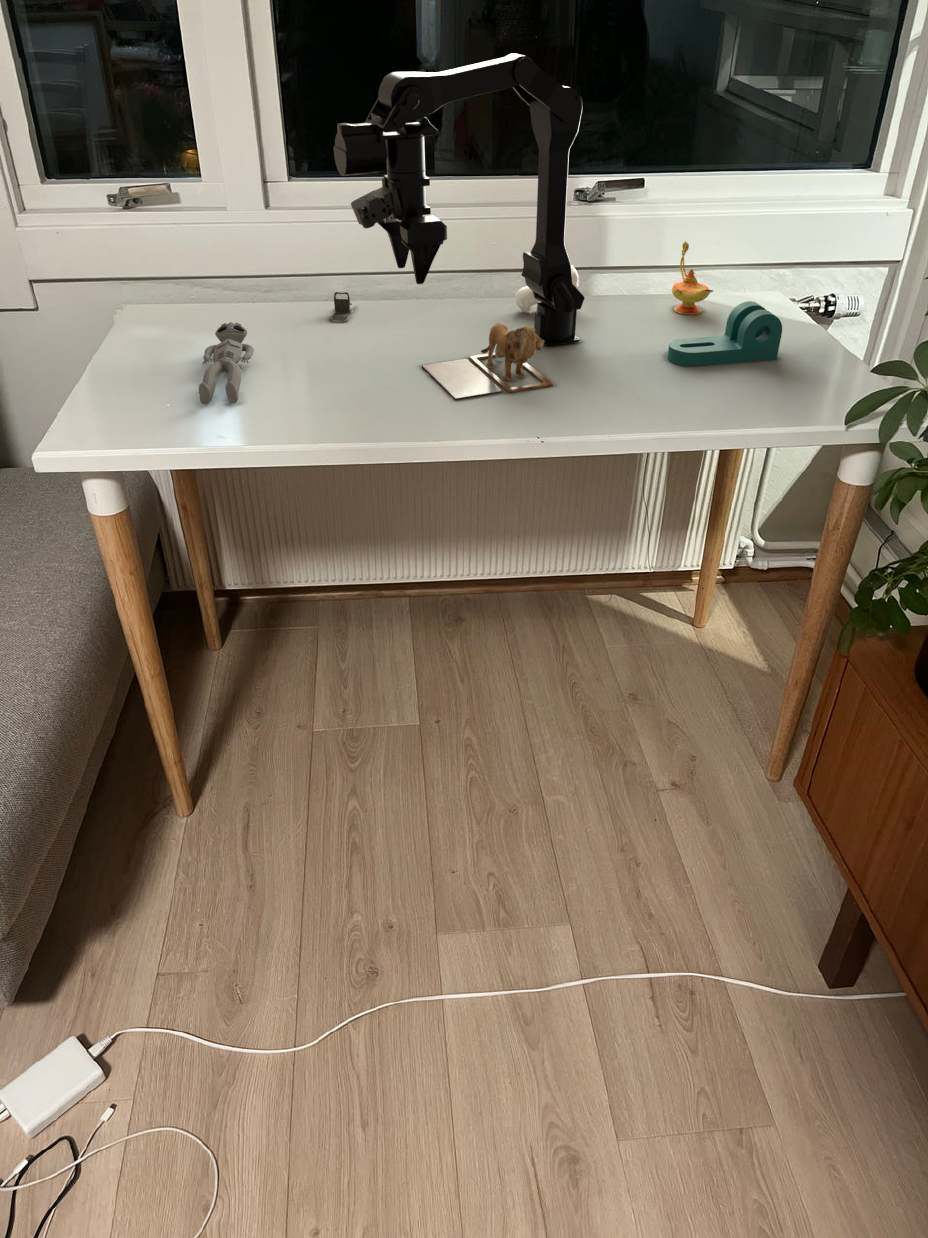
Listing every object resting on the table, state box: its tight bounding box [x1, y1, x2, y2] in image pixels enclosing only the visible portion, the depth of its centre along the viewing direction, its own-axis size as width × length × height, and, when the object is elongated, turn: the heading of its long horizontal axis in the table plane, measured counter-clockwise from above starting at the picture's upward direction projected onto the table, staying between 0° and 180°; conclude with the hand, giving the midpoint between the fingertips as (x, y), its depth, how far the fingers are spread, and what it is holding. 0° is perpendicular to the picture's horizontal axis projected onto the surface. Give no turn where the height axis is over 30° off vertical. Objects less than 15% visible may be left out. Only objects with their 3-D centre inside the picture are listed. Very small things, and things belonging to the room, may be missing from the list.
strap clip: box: [331, 291, 355, 322], centre depth 180 cm, size 8×3×4 cm, turn 174°
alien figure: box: [198, 321, 255, 405], centre depth 156 cm, size 8×5×25 cm
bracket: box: [667, 300, 783, 367], centre depth 162 cm, size 18×7×8 cm, turn 102°
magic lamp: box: [671, 240, 714, 316], centre depth 179 cm, size 7×18×11 cm, turn 7°
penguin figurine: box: [514, 264, 580, 314], centre depth 180 cm, size 6×8×12 cm
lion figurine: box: [480, 322, 545, 382], centre depth 156 cm, size 15×5×9 cm, turn 33°
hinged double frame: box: [421, 352, 554, 401], centre depth 157 cm, size 16×16×1 cm
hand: (410, 275), depth 154 cm, fingers open, 9 cm apart
